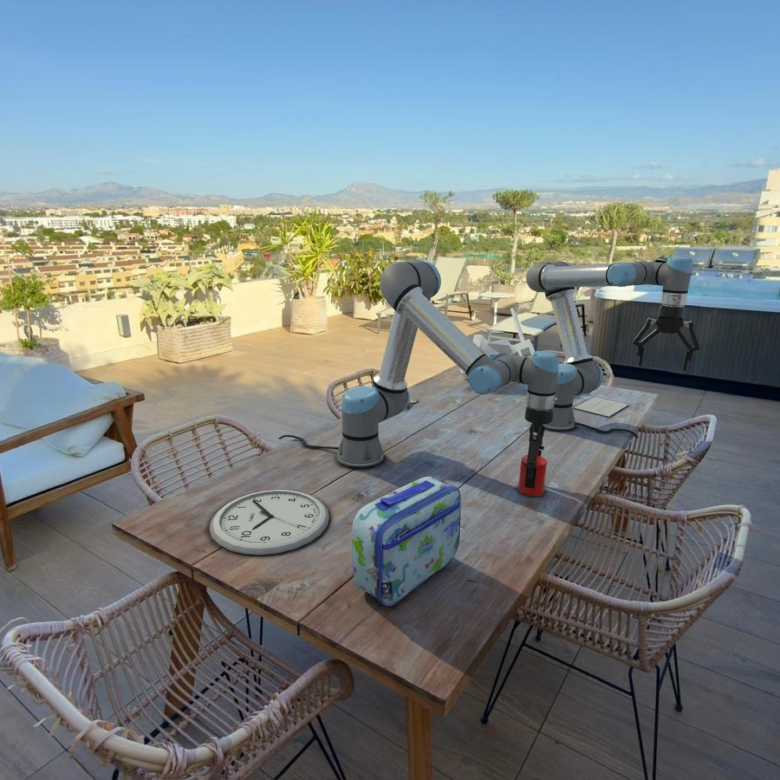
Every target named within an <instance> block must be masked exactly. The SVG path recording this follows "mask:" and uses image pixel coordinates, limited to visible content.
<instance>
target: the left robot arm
mask: <svg viewBox="0 0 780 780" xmlns="http://www.w3.org/2000/svg"><path fill="white" fill-rule="evenodd" d="M441 286H442V277H441V273H440V272H439V269H438V268H437V266H436V265H435V264H433V263H432V262H430V261H427V260H422V259H415V260H406V261H396V262H392V263H390V264H389V265H387V267H385V268H384V269H383V271H382V272H381V274H380V278H379V289H380V292H381V295H382V297H383V298H384V300H385V301H386V303H387V304H388V306H390V307H391V309H393V310H394V311H393V316H392V319H391V322H390V323H391V324H390V327H389V332H388V335H387V340H386V344H385V348H384V352H383V355H382V356H383V357H382V361H381V365H380V369H379V372H378V373H376V374H375V375H374V376H373V380H372V383H371V385H360V386H354V387H351V388H348V389H347V390H346V391H344V393H343V394H342V397H341V398H342V399H341V400H342V401H341V426H342V427H341V429H342V430H341V431H342V437H341V440H340V443H339V445H338V446H322V445H310V444H306V442H305V441H306V440H305V439H304V438H302V437H299V436H296V435H294V434H283V435H281V436H279V437H278V440H282V439H284V438H294V439H296V440H300V441H301V442H302V445H303V446H304V447H306V448H310V449H324V450H337V452H336V460H337V462H338V463H339V464H340V465H342V466H344V467H347V468H352V469H368V468H374V467H376V466H379V465H380V464H382V462H383V461H384V457H385V452H384V450H383V447H382V444H381V441H380V438H379V425H380V423H382V422H385V421H386V420H389V419H392V418H393V417H396V416H398V415H400V414H401V413H403V412H404V411H405V410H406V409H407V408H406V407H407V405H408V404H409V403H410V392H409V388H408V382H407V381H406V380H405V378H406V374H407V371H408V367H409V363H410V360H411V356H412V351H413V348H414V345H415V342H416V341H415V340H416V336H417V334H418V329H419V330H420V331H421V332H422V333H423V334H424V335H425V336H426V337H427V338H428V339H429V340H430V341H431V342H432V343H433V344H434V345H435V346H436V347H437V348H438V349H440V350H441V352H442V353H444V354H445V355H446V356H447V357H448V358H449V359H450V360H451V361H452V362H453V363H454V364H455V365H456V366H457V367H458V368H459V370H460V369H461V370H462V371H463V372H465V373H466V375H467V376H468V377H469V378H467V379H468V384H469V387H470V389H471V390H472V391H473V392H474V393H476V394H478V395H482V396H483V395H484V396H485V395H489V394H493V393H495V392H496V391H498V390H499V389H501V388H502V387H504V386H507V385H508V384H510V383H515V384H521V385H527V391H526V400H525V405H526V406H525V411H524V420H525V421H527V422H528V423H531V424H530V427H529V436H528V442H529V444H528V450H527V455H528V457H527V464H524V466H525V467H526V477H525V487H527V488H533V489H534V488H535V480H536V471H537V465H536V464H537V458H538V456H541V457H542V451H545V446H544V444H543V443H544V442H543V441H544V440H543V439H544V436H545V432H546V429H545V426H544V424H549V423H551V422H552V420H553V411H554V410H553V409H552V408H553V407H554V401H557V398H556V397H555V393H556V384H557V377H558V372H559V369H558V366H559V364H560V363H559V362H560V357H559V355H558V354H557V353H555V352H552V351H547V350H545V351H543V350H535V352H533V353H532V354H531V353H530V356H529V357H527V356H524V357H522V356H516V355H510V354H506V353H493V354H491V355H490V357H488V356H487V355H486V354H485V353H484V352H483V351H482V350H481V349H480V348H479V347H478V346H477V345H476V344H474V343H473V340H472V339H470V338H469V337H468V336H467V335H466V333H464V332H463V331H462V330H461V329H460V328H459V327H458V326H457V325H456V324H455V323H453V322H452V320H450V318H449V317H447V316H446V315H445V314H444V313H443V312H442V311H441V310H440V309H439V308H437V306H435V305H434V304H433V302H431V299H432V298H433V297H435V296H436V295H437V294H438V293H439V291H440V289H441ZM405 408H406V409H405Z"/></svg>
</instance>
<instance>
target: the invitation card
mask: <svg viewBox="0 0 780 780" xmlns="http://www.w3.org/2000/svg"><path fill="white" fill-rule="evenodd" d="M628 406H629V404H627V403H623V402H618V401H614V400H609V399H605V398H601V397H596V396H593V397H592V398H590V399H588V400H586V401H584V402H582V403H580V404H578V405H575V406H574V407H573V409H575V410H581V411H584V412H587V413H593V414H596V415H600V416H604V417H608V418H609V417H611V416H613V415H614V414H616V413H617V412H619V411H621V410H623V409H624V408H626V407H628Z"/></svg>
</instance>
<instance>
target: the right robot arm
mask: <svg viewBox="0 0 780 780" xmlns="http://www.w3.org/2000/svg"><path fill="white" fill-rule="evenodd" d="M693 265H694V260H693V259H692V258H691V257H683V256H682V257H680V256H674V257H673V256H671V257H669V258H667V260H666V262H658V261H657V262H656V261H647V260H640V261H638V260H637V261H634V262H617V263H596V264H579V265H574V264H571V263H570V262H567V261H562V260H559V261H544V262H543V261H542V262H541V261H539V262H537V263H534V264H532V265H531V266H530V267H529V268H528V270H527V272H526V275H525V281H526V284H527V286H528V288H529V289H530V290H531V291H533V292H536V293H544V296H545V300H547V301H549V302H550V303H551V308H552V312H553V315H554V319H555V323H556V327H557V331H558V336H559V339H560V344H561V348H562V352H563V356H564V360H563V362H562V363H559V366H558V369H559V372H558V377H557V384H556V393H555V397H556V398H557V401H554V407H553V408H552V409H553V410H554V411H553V420H552V422H551V423H549V424H544V426H545V430H549V431H556V432H567V431H572V430H574V429H575V428H576V425H577V426H580V427H583V428H586V429H590V430H593V431H596V432H598V433H601V434H610V433H611V432H625V433H629V434H631V435H633V436H634V437H635V438H636V439H639V438H640V437H639V436H638V434H637V433H635V432H634V431H632V430H630V429H627V428H610V429H609V430H602V429H599V428H597V427H594V426H590V425H588V424H584V423H581V422H577V421H576V418H575V417H576V416H575V413H574V407H573V405H574V398H575V397H578V396H581V395H585V394H586V395H587V394H591V393H592V392H595V391H597V390H598V389H599V388H600V387H601V386H602V383H603V381H604V373H603V369H602V367H601V366H600V365H598V364H597V363H596V362H595V360H594V357H593V356H592V355H591V354H588V351H587V347H586V343H585V339H584V335H583V331H582V327H581V323H580V319H579V315H578V311H577V307H576V303H575V298H574V295H575V293H576V288H590V287H591V288H593V287H595V288H597V287H618V288H624V287H631V286H646V285H648V286H649V285H650V286H660V287H662V292H661V296H660V304H661V305H659V309H658V314H657V318H656V319H653V318H651V317H647V319H646V322H645V324H644V326H643V327H642V328H641V330H640V331H639V332H638V334H637V335H636V336H635V338H634V339H633V341H632V344H633V345H634V346H637V350H636V356H637V357H639V360H638V366H639V367H642V364H643V358H644V352H645V346H644V345H645V344H647V343H648V342H650V340H652V339H653V338H654V337H655V336H657V335H658V334H659V333H662V334H670V335H673V334H677V336H678V337H679V338H680V340H681V341H682V343H683V345H684V346H685V347H686V348H687V349H685V352H684V358H683V363H682V371H683V372H686V371H687V366H688V362H691V361H692V360H693V353H694V352H695V351H700V350H701V347H700V344H699V341H698V339H697V336H696V333H695V330H694V322H693V321H692V320H689V321H684V318H685V317H684V316H685V310H686V308H685V306H686V305H687V299H688V294H689V288H690V282H691V278H692V274H693ZM654 324H655V325H656V326H657V327H656V328H654V329H653V331H651V332H650V333H648V335H646V336H645V337H644V338H643V336H644V335H645V333H646V332H647V331H648V329H649V328H650V327H651V326H653V325H654ZM684 326H685V328H686V329H688V333H689V335H690V337H691V341H692V344H693V346H692V345H691V343H690V342H689V341H688V339H687V338H686V337H685V335H684V334H683V332H682V331H681V328H683V327H684ZM642 338H643V339H642ZM641 339H642V340H641Z"/></svg>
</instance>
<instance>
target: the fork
mask: <svg viewBox="0 0 780 780" xmlns="http://www.w3.org/2000/svg"><path fill="white" fill-rule="evenodd" d="M418 398H419V396H415V395H413V396H412V397H411V399H410V400H409V403H408V405H407V407H406V408H405V410H407V409H408V408H409V407H411V405H412V404H415V403H417V401H418Z"/></svg>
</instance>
